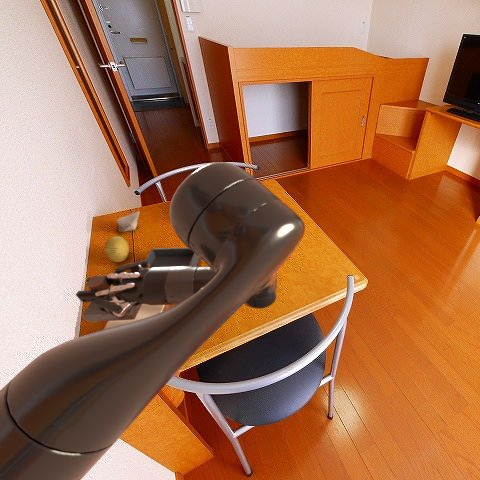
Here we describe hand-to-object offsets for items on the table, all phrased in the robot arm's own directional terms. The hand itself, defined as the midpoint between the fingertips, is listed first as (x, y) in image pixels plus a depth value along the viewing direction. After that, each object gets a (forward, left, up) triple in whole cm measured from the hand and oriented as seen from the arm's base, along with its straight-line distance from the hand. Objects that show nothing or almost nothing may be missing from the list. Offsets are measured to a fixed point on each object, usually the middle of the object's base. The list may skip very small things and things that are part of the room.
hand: (84, 289), depth 53 cm
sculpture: (+23, +23, -20) cm, 38 cm away
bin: (+21, +4, -20) cm, 29 cm away
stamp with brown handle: (+1, -3, -7) cm, 8 cm away
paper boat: (+37, +32, -20) cm, 52 cm away
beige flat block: (+6, -1, -20) cm, 21 cm away
